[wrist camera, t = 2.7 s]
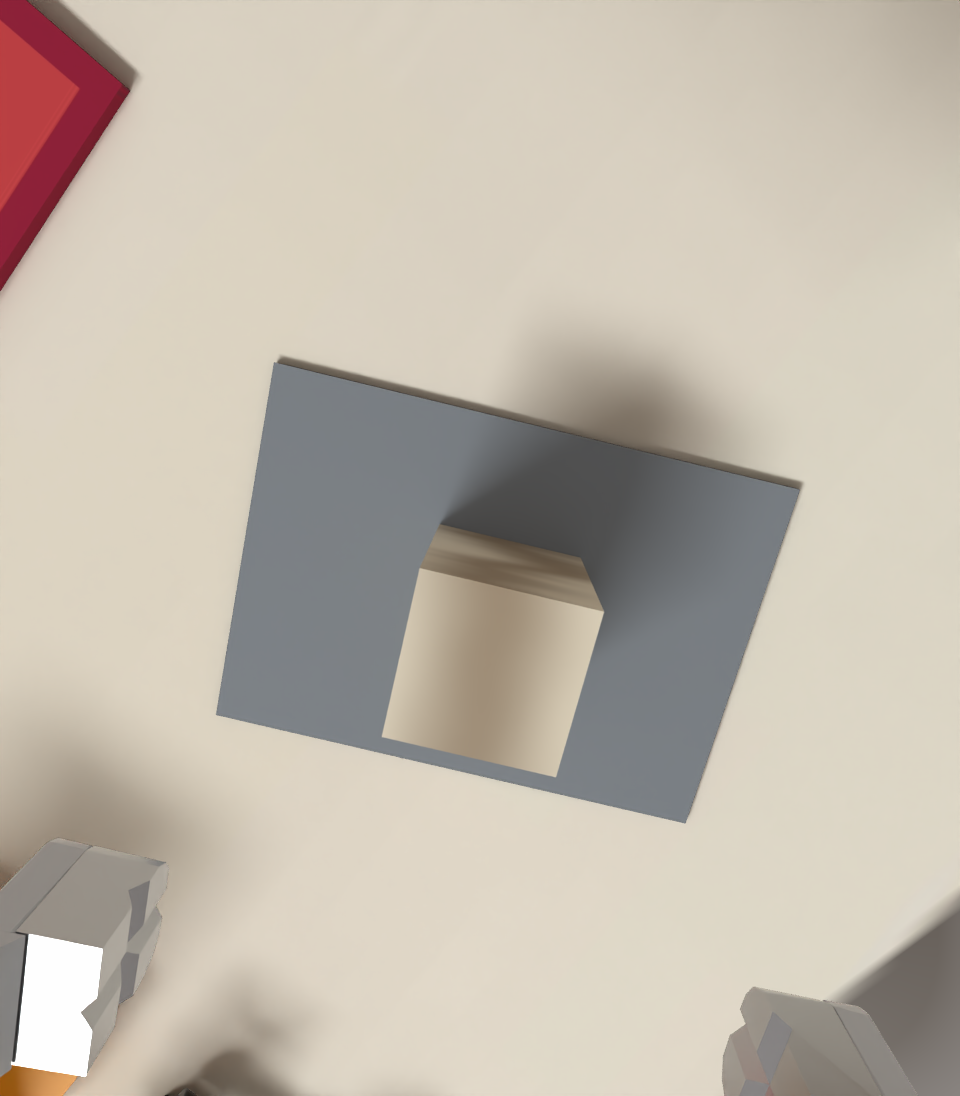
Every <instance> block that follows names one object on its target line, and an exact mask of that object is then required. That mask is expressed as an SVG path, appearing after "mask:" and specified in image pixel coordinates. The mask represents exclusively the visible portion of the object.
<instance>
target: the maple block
mask: <svg viewBox="0 0 960 1096" xmlns="http://www.w3.org/2000/svg"><path fill="white" fill-rule="evenodd" d="M603 614H604V610H603V608H602V606H601V603H600V601H599V599H598V596H597V594H596V592H595V590H594V587H593V585H592V583H591V580H590V578H589V576H588V574H587V571H586V569H585V567H584V564H583V562H582V560H581V558H580V557H576V556H571V555H567V554H563V553H559V552H555V551H550V550H546V549H542V548H538V547H534V546H529V545H525V544H521V543H517V542H513V541H508V540H504V539H500V538H496V537H492V536H488V535H483V534H479V533H475V532H471V531H467V530H462V529H458V528H454V527H450V526H446V525H441V524H439V526H438V529H437V531H436V533H435V535H434V537H433V540H432V542H431V544H430V546H429V548H428V551H427V553H426V555H425V557H424V559H423V562H422V564H421V566H420V569H419V573H418V577H417V582H416V586H415V591H414V595H413V600H412V604H411V609H410V613H409V617H408V622H407V626H406V631H405V635H404V640H403V644H402V649H401V653H400V658H399V662H398V666H397V671H396V675H395V680H394V684H393V689H392V693H391V698H390V702H389V706H388V711H387V715H386V720H385V724H384V729H383V733H382V737H384V738H388V739H393V740H397V741H401V742H406V743H410V744H414V745H419V746H423V747H427V748H432V749H436V750H440V751H445V752H449V753H453V754H457V755H462V756H466V757H470V758H475V759H479V760H483V761H488V762H492V763H496V764H501V765H505V766H509V767H514V768H518V769H522V770H526V771H531V772H535V773H539V774H544V775H548V776H552V777H556V776H557V772H558V769H559V765H560V762H561V759H562V755H563V752H564V748H565V745H566V741H567V738H568V734H569V731H570V728H571V724H572V721H573V717H574V714H575V710H576V707H577V703H578V700H579V697H580V693H581V690H582V686H583V683H584V679H585V676H586V673H587V669H588V666H589V662H590V659H591V655H592V652H593V648H594V645H595V642H596V638H597V635H598V631H599V628H600V624H601V621H602V618H603Z"/></svg>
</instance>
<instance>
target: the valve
mask: <svg viewBox="0 0 960 1096" xmlns="http://www.w3.org/2000/svg"><path fill="white" fill-rule="evenodd" d="M165 1096H168V1095H165ZM177 1096H197V1095H196V1094H194V1093H193V1092H192V1091H190V1090H189V1089H188V1088H185V1089H183V1090H182V1091H181V1092H180V1093H179V1094H178V1095H177Z"/></svg>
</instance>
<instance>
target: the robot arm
mask: <svg viewBox="0 0 960 1096" xmlns="http://www.w3.org/2000/svg"><path fill="white" fill-rule="evenodd" d="M168 872H169V867H168V865H167V864H166V862H162V861H158V860H154V859H149V858H145V857H141V856H137V855H133V854H128V853H124V852H120V851H116V850H111V849H107V848H103V847H99V846H91V845H87V844H83V843H79V842H75V841H70V840H66V839H62V838H56V839H53V840H51V841H49V842H47V843H46V844H45V845H44V846H43V847H42V848H41V849H40V850H39V851H38V852H37V853H36V854H35V855H34V856H33V857H32V858H31V859H30V860H29V861H28V862H27V863H26V864H25V865H24V866H23V867H22V868H21V869H20V870H19V871H18V872H17V873H16V874H15V875H14V877H13V878H12V879H11V880H10V881H9V882H8V883H7V884H6V885H5V886H4V887H3V888H2V889H1V890H0V1077H1V1076H2V1075H4V1074H5V1073H7V1072H8V1071H9V1070H11V1067H12V1064H13V1065H19V1066H25V1067H31V1068H37V1069H43V1070H49V1071H55V1072H61V1073H67V1074H74V1075H80V1076H86V1075H87V1073H88V1071H89V1070H90V1068H91V1066H92V1064H93V1063H94V1061H95V1059H96V1058H97V1056H98V1054H99V1053H100V1051H101V1049H102V1048H103V1046H104V1044H105V1043H106V1041H107V1039H108V1037H109V1036H110V1034H111V1032H112V1031H113V1029H114V1027H115V1023H116V1016H117V1010H118V1004H120V1003H122V1002H123V1001H125V1000H127V999H128V998H130V997H132V996H133V995H134V993H135V991H136V989H137V988H138V986H139V984H140V982H141V981H142V979H143V977H144V975H145V973H146V970H147V968H148V965H149V963H150V961H151V958H152V956H153V953H154V950H155V947H156V943H157V940H158V936H159V932H160V926H161V920H162V916H161V914H160V913H159V911H158V909H157V907H156V905H157V903H158V901H159V900H160V898H161V897H162V895H163V893H164V892H165V890H166V888H167V880H168ZM740 1010H741V1013H742V1016H743V1018H744V1021H745V1023H746V1024H745V1025H744V1026H743V1027H741V1028H740V1029H738V1030H737V1031H735V1032H734V1033H733V1034H731V1035H730V1037H729V1040H728V1043H727V1046H726V1049H725V1052H724V1055H723V1069H722V1082H723V1089H724V1096H918V1095H917V1093H916V1092H915V1090H914V1088H913V1087H912V1085H911V1083H910V1081H909V1080H908V1078H907V1077H906V1075H905V1073H904V1072H903V1070H902V1068H901V1067H900V1065H899V1063H898V1062H897V1060H896V1058H895V1057H894V1055H893V1053H892V1052H891V1050H890V1048H889V1047H888V1045H887V1044H886V1042H885V1040H884V1039H883V1037H882V1035H881V1034H880V1032H879V1030H878V1029H877V1027H876V1025H875V1024H874V1022H873V1020H872V1019H871V1017H870V1016H869V1015H868V1013H866V1012H865V1011H864V1010H863V1009H862V1008H861V1007H858V1006H853V1005H848V1004H843V1003H837V1002H832V1001H827V1000H823V1001H821V1000H817V999H812V998H807V997H802V996H797V995H793V994H788V993H783V992H778V991H773V990H768V989H763V988H758V987H753V988H752V989H751V990H750V991H749V992H748V993H747V994H746V995H745V998H744V1000H743V1003H742V1005H741V1008H740Z"/></svg>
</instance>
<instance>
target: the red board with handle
mask: <svg viewBox="0 0 960 1096" xmlns="http://www.w3.org/2000/svg"><path fill="white" fill-rule="evenodd" d="M129 92H130V90H129V89H128V88H126V87H125V86H124V85H123V84H122V83H121V82H120V81H118V80H117V79H116V78H115V77H114V76H113V75H112V74H110V73H109V72H108V71H107V70H106V69H105V68H104V67H102V66H101V65H100V64H99V63H98V62H97V61H96V60H94V59H93V58H92V57H91V56H90V55H89V54H88V53H86V52H85V51H84V50H83V49H82V48H81V47H79V46H78V45H77V44H76V43H75V42H74V41H73V40H71V39H70V38H69V37H68V36H67V35H66V34H65V33H63V32H62V31H61V30H60V29H59V28H58V27H57V26H55V25H54V24H53V23H52V22H51V21H50V20H49V19H47V18H46V17H45V16H44V15H43V14H42V13H41V12H39V11H38V10H37V9H36V8H35V7H34V6H33V5H31V4H30V3H29V2H28V1H27V0H0V291H1V289H2V288H3V286H4V285H5V283H6V282H7V280H8V279H9V277H10V275H11V274H12V272H13V271H14V269H15V268H16V266H17V265H18V263H19V262H20V260H21V259H22V257H23V255H24V254H25V252H26V251H27V249H28V248H29V246H30V245H31V243H32V242H33V240H34V238H35V237H36V235H37V234H38V232H39V231H40V229H41V228H42V226H43V225H44V223H45V221H46V220H47V218H48V217H49V215H50V214H51V212H52V211H53V209H54V208H55V206H56V204H57V203H58V201H59V200H60V198H61V197H62V195H63V194H64V192H65V191H66V189H67V188H68V186H69V184H70V183H71V181H72V180H73V178H74V177H75V175H76V174H77V172H78V171H79V169H80V167H81V166H82V164H83V163H84V161H85V160H86V158H87V157H88V155H89V154H90V152H91V150H92V149H93V147H94V146H95V144H96V143H97V141H98V140H99V138H100V137H101V135H102V133H103V132H104V130H105V129H106V127H107V126H108V124H109V123H110V121H111V120H112V118H113V116H114V115H115V113H116V112H117V110H118V109H119V107H120V106H121V104H122V103H123V101H124V100H125V98H126V96H127V95H128V93H129Z"/></svg>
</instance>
